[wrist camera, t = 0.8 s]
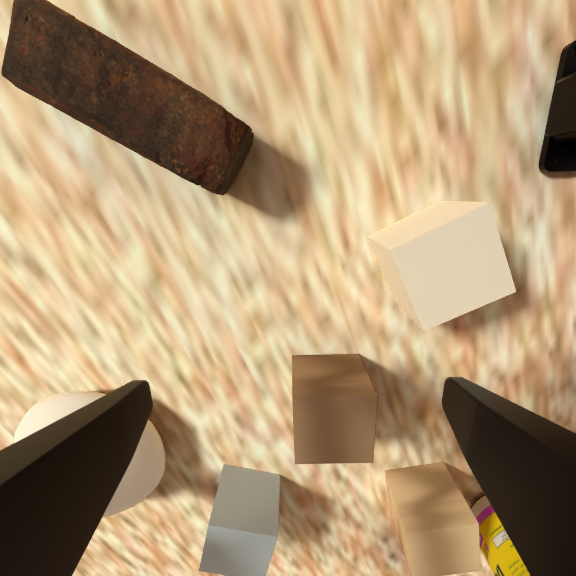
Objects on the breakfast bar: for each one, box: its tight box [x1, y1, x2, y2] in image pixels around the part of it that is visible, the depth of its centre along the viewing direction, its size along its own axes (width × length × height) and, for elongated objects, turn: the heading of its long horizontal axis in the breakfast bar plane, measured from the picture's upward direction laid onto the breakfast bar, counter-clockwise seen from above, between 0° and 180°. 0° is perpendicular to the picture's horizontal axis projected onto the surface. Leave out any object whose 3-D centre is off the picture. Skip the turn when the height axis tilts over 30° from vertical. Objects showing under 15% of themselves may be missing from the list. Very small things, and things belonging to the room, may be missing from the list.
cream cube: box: [367, 201, 516, 331], centre depth 17 cm, size 5×5×5 cm
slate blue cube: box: [199, 464, 280, 576], centre depth 24 cm, size 5×5×5 cm
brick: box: [2, 0, 254, 195], centre depth 15 cm, size 11×4×5 cm, turn 61°
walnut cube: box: [292, 354, 377, 464], centre depth 20 cm, size 5×5×5 cm
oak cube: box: [385, 462, 480, 576], centre depth 24 cm, size 5×5×5 cm
